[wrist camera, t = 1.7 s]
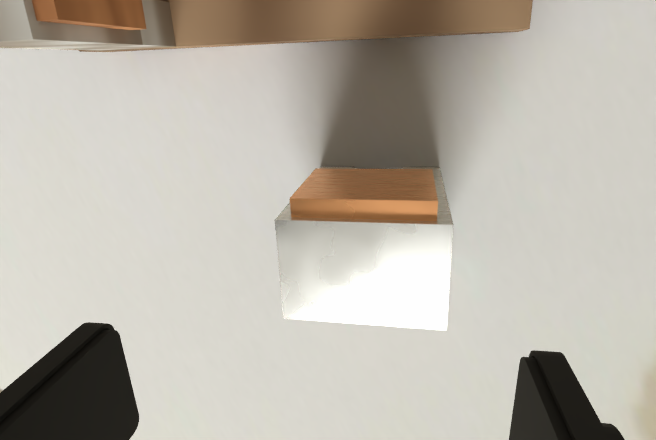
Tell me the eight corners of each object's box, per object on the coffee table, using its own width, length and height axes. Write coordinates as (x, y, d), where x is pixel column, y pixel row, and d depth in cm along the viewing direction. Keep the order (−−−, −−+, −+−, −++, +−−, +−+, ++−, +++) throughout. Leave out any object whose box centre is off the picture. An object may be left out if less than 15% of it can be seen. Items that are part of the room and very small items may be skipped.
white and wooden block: (435, 242, 23) (446, 330, 15) (323, 237, 24) (283, 318, 16) (440, 153, 21) (454, 204, 14) (319, 153, 22) (273, 200, 15)
